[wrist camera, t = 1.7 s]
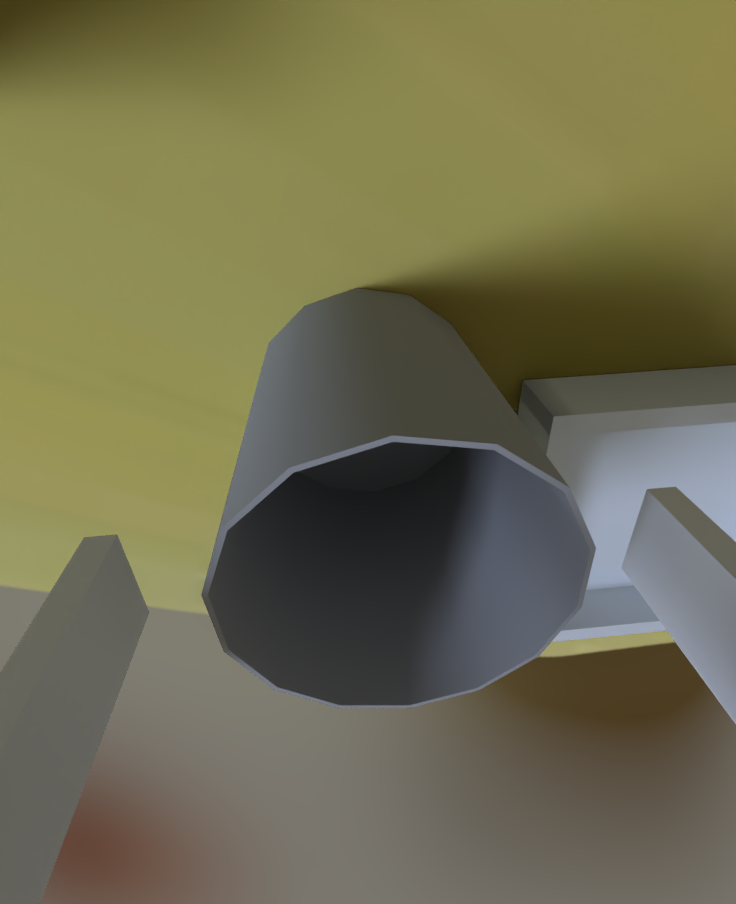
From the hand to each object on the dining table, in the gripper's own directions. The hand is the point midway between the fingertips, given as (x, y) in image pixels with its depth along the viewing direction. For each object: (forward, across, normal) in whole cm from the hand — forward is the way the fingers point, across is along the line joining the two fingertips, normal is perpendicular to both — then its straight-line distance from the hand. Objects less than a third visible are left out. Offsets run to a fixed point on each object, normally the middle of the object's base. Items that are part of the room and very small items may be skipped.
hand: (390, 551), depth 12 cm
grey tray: (+8, +13, -5) cm, 16 cm away
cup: (+8, 0, +1) cm, 8 cm away
